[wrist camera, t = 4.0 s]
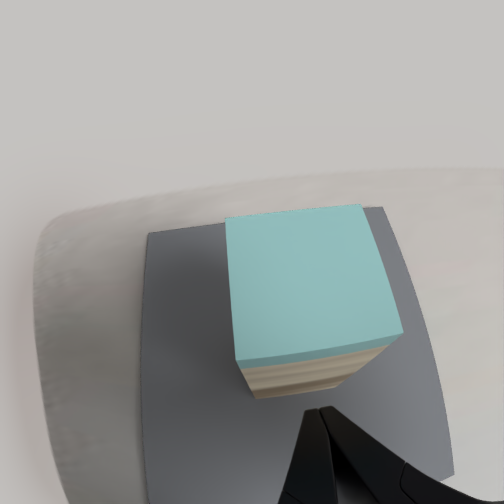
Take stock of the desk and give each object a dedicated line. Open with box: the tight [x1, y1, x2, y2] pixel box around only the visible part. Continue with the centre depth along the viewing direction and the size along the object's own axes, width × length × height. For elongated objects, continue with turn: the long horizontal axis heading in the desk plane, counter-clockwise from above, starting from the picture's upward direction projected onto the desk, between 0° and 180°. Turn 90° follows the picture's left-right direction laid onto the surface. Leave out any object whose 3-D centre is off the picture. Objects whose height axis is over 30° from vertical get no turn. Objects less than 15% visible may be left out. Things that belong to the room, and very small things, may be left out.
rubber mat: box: [141, 207, 454, 504], centre depth 16 cm, size 18×16×1 cm
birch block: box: [225, 204, 404, 399], centre depth 12 cm, size 4×4×9 cm
